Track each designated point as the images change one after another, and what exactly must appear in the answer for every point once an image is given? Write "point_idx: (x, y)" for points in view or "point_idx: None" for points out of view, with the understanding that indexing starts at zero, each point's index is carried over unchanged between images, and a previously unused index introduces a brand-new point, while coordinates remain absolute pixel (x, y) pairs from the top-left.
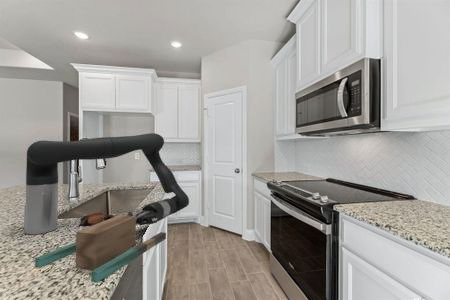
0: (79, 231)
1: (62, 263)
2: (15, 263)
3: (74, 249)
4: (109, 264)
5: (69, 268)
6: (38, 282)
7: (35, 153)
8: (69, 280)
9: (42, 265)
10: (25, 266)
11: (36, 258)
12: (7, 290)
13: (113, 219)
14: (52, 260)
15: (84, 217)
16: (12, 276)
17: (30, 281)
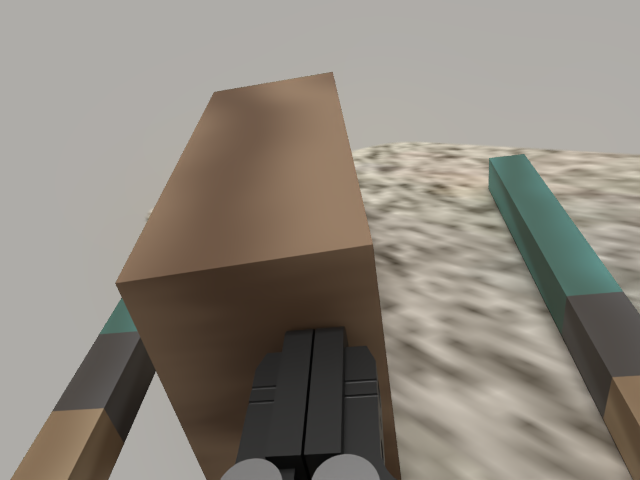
0: (322, 75)
1: (444, 221)
2: (624, 167)
3: (531, 259)
4: None
5: (371, 218)
6: (377, 170)
7: None
8: None
9: (490, 188)
10: (552, 174)
11: (515, 155)
12: (413, 143)
13: (303, 170)
14: (500, 205)
15: None
16: (496, 154)
17: (407, 165)
